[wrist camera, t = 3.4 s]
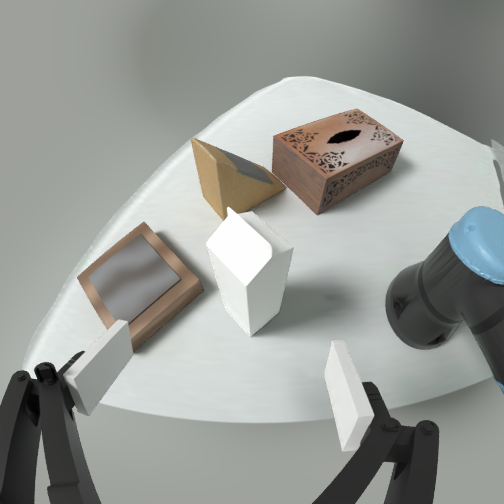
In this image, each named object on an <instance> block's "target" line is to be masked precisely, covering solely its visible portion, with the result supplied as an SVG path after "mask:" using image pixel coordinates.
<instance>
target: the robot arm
mask: <svg viewBox="0 0 504 504" xmlns="http://www.w3.org/2000/svg"><path fill="white" fill-rule="evenodd" d="M386 313H387V317H388V320H389V323H390V325H391V327H392V329H393V330H394V332H395V333H396V335H397V336H398V337H399V338H400V339H401V340H402V341H403V342H404V343H406V344H407V345H409V346H411V347H413V348H416V349H431V348H434V347H436V346H438V345H440V344H442V343H443V342H445V341H446V340H447V339H448V338H449V337H450V336H451V335H452V334H453V332H454V331H455V330H456V328H457V327H458V326H459V324H460V323H461V322H462V321H463V320H465V321H466V323H467V325H468V326H469V328H470V330H471V331H472V333H473V335H474V337H475V339H476V341H477V343H478V345H479V346H480V348H481V350H482V352H483V354H484V356H485V358H486V360H487V362H488V364H489V366H490V369H491V371H492V373H493V377H494V379H495V380H496V383H497V384H498V385H499V386H500V388H501V390H502V392H503V394H504V214H502V213H501V212H499V211H497V210H495V209H491V208H489V207H484V206H479V207H474V208H472V209H470V210H469V211H467V212H466V213H465V214H464V216H463V217H462V218H461V219H460V220H459V221H458V222H456V223H455V224H454V225H453V226H452V227H451V229H450V231H449V233H448V234H447V236H446V237H445V238H444V239H443V240H442V242H441V243H440V244H439V245H438V246H437V247H436V249H435V250H434V251H433V252H432V253H431V254H430V255H429V256H428V257H427V259H426V260H425V261H423V262H420V263H417V264H415V265H412V266H409V267H407V268H405V269H404V270H402V271H401V272H400V273H399V274H398V275H397V276H396V277H395V278H394V280H393V281H392V282H391V284H390V286H389V288H388V291H387V295H386ZM132 356H133V349H132V344H131V338H130V332H129V325H128V321H124V320H119V319H118V320H117V321H116V322H115V323H114V324H113V325H112V326H111V327H110V328H109V329H108V330H107V331H106V332H105V333H104V334H103V335H102V336H101V337H100V338H99V339H98V340H97V341H96V342H95V343H94V344H93V345H92V346H91V347H90V348H89V349H88V350H87V351H86V352H85V351H81V352H79V353H77V354H75V355H74V356H73V357H72V358H71V360H69V361H68V362H67V363H66V364H65V365H64V366H63V367H62V368H61V369H60V370H59V371H58V372H56V369H55V367H54V365H53V364H52V363H49V362H44V363H40V364H38V365H37V366H36V367H35V369H34V372H35V374H36V377H37V379H31V377H30V375H29V373H28V372H27V371H24V370H22V371H17V372H16V373H14V374H13V376H12V377H11V380H10V382H9V385H8V387H7V390H6V392H5V395H4V397H3V400H2V403H1V405H0V504H34V494H35V476H36V465H37V456H38V449H39V442H40V435H41V430H42V438H43V445H44V452H45V459H46V464H47V469H48V474H49V479H50V484H51V485H50V486H48V487H47V490H48V496H49V499H50V503H51V504H101V502H100V499H99V497H98V494H97V492H96V489H95V487H94V484H93V481H92V479H91V476H90V472H89V469H88V466H87V463H86V460H85V457H84V453H83V450H82V446H81V442H80V438H79V434H78V430H77V426H76V422H75V417H74V412H73V411H72V408H73V407H74V405H75V406H76V408H77V410H78V412H79V413H82V414H84V415H87V416H89V415H90V414H91V413H92V411H93V410H94V408H95V407H96V406H97V404H98V403H99V401H100V400H101V399H102V397H103V396H104V394H105V393H106V392H107V390H108V389H109V388H110V386H111V385H112V383H113V382H114V381H115V379H116V378H117V377H118V375H119V374H120V373H121V371H122V370H123V369H124V367H125V366H126V364H127V363H128V362H129V360H130V359H131V358H132ZM324 376H325V380H326V384H327V388H328V392H329V396H330V401H331V405H332V409H333V413H334V417H335V422H336V426H337V430H338V435H339V439H340V444H341V448H342V451H343V452H344V451H354V450H357V449H358V447H359V445H361V446H360V447H359V449H358V450H357V451H356V453H355V454H354V455H353V457H352V458H351V459H350V461H349V462H348V463H347V464H346V466H345V467H344V468H343V469H342V471H341V472H340V473H339V474H338V475H337V477H336V478H335V479H334V480H333V481H332V483H331V484H330V485H329V486H328V487H327V488H326V489H325V490H324V491H323V493H322V494H321V495H320V496H319V497H318V498H317V499H316V500H315V501H314V502H313V503H312V504H355V503H356V502H357V500H358V499H359V497H360V496H361V495H362V493H363V492H364V490H365V489H366V488H367V486H368V485H369V483H370V482H371V480H372V479H373V477H374V476H375V474H376V473H377V471H378V470H379V468H380V466H381V465H382V463H383V462H395V464H394V468H393V472H392V476H391V480H390V484H389V487H388V491H387V495H386V498H385V501H384V504H432V503H433V498H434V491H435V483H436V475H437V464H438V463H437V462H438V447H439V428H438V426H437V425H436V424H435V423H434V422H432V421H429V420H423V421H421V422H419V423H418V424H417V425H416V427H409V426H402V425H401V424H400V423H399V421H397V420H396V419H394V418H391V417H390V415H389V412H388V410H387V408H386V406H385V403H384V401H383V400H382V397H381V395H380V392H379V390H378V388H377V387H376V386H375V385H374V384H373V383H372V382H361V380H360V378H359V375H358V373H357V371H356V368H355V366H354V364H353V361H352V359H351V356H350V354H349V352H348V349H347V347H346V345H345V342H344V341H335V340H332V343H331V347H330V352H329V356H328V361H327V365H326V369H325V373H324Z"/></svg>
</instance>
